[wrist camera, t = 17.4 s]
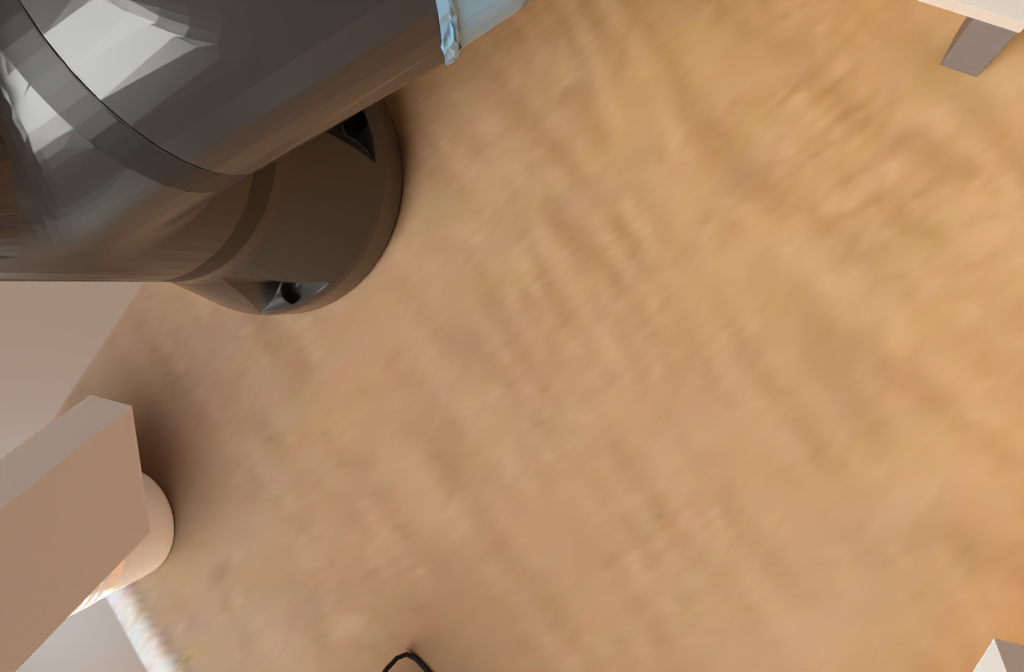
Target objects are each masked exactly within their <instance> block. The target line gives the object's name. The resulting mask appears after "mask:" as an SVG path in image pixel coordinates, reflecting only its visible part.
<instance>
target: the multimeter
mask: <svg viewBox="0 0 1024 672" xmlns="http://www.w3.org/2000/svg"><path fill="white" fill-rule="evenodd" d="M404 657H408V658H410V659H412V660H414V661H415V662H416V663H417V664H418V665H419V666H420V667H421V668H422V669H423V670H424V671H425V672H431V671H430V670H429V669H428V668H427V666H426V665H425V664H424V663H423V662H422V661H421V660H420V659H419V658H418V657H417V656H415V655H413V654H410V653H408V652H406V653H403V654H400V655H398V656H396V657H395V658H394V659H393V660H392V661H391V662H390V663H389V664H388V665H387V666H386V667H385V668H384V670H383V671H382V672H388V671H389V669H390V668H391V667H392V666H393V665H394V664H395V663H396V662H397V661H398V660H399V659H402V658H404Z"/></svg>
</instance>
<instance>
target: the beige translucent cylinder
mask: <svg viewBox="0 0 1024 672" xmlns="http://www.w3.org/2000/svg"><path fill="white" fill-rule="evenodd" d="M142 478H143V485H144V491H145V498H146V505H147V512H148V519H149V525H150V533H149V534H148V535H147V536H146V537H145V538H144V539H143V540H142V541H141V542H140V543H139V544H138V545H137V547H136V548H135V549H134V550H133V551H132V552H131V553H130V554H129V555H128V556H127V557H126V558H125V559H124V560H123V561H122V562H121V563H120V564H119V565H118V566H117V567H116V568H115V569H114V570H113V571H112V572H111V573H110V574H109V575H108V576H107V577H106V578H105V579H104V581H103V582H102V583H101V584H100V585H99V586H98V587H97V588H96V589H95V590H94V591H93V592H92V593H91V594H90V595H89V596H88V597H87V598H86V599H85V600H84V601H83V602H82V603H81V604H80V605H79V606H78V607H77V608H76V609H75V610H74V611H73V612H72V613H71V615H73V614H75V613H77V612H79V611H81V610H83V609H85V608H87V607H89V606H91V605H92V604H94V603H96V602H97V601H99V600H100V599H102V598H104V597H106V596H108V595H110V594H112V593H114V592H115V591H117V590H119V589H121V588H123V587H125V586H127V585H129V584H131V583H133V582H134V581H136V580H138V579H140V578H142V577H144V576H146V575H148V574H150V573H152V572H153V571H155V570H156V569H157V568H159V567H160V566H161V565H162V564H163V563H164V561H165V560H166V558H167V557H168V555H169V553H170V550H171V547H172V544H173V538H174V520H173V514H172V510H171V507H170V504H169V502H168V500H167V498H166V496H165V494H164V492H163V491H162V489H161V488H160V487H159V485H158V484H157V483H156V482H155V481H154V480H153V479H152V478H150V477H149V476H148V475H146V474H144V473H142ZM71 615H70V616H71Z"/></svg>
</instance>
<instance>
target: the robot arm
mask: <svg viewBox="0 0 1024 672" xmlns="http://www.w3.org/2000/svg"><path fill="white" fill-rule="evenodd" d="M529 1H530V0H0V281H128V282H129V281H131V282H133V281H136V282H139V281H140V282H172V283H174V284H176V285H178V286H180V287H182V288H185V289H187V290H189V291H191V292H193V293H195V294H198V295H200V296H202V297H204V298H206V299H208V300H211V301H213V302H215V303H217V304H219V305H222V306H224V307H226V308H229V309H232V310H235V311H240V312H244V313H249V314H257V315H279V314H297V313H304V312H308V311H312V310H315V309H318V308H321V307H323V306H326V305H328V304H330V303H332V302H334V301H336V300H337V299H339V298H341V297H342V296H344V295H345V294H346V293H348V292H349V291H350V290H352V289H353V288H354V287H355V286H356V285H357V284H358V283H359V282H360V281H361V280H362V279H363V278H364V277H365V276H366V275H367V274H368V273H369V271H370V270H371V269H372V267H373V266H374V265H375V263H376V262H377V260H378V259H379V257H380V256H381V254H382V252H383V250H384V248H385V246H386V245H387V242H388V240H389V238H390V236H391V233H392V230H393V227H394V225H395V221H396V218H397V214H398V209H399V205H400V198H401V189H402V162H401V153H400V147H399V142H398V138H397V134H396V131H395V128H394V125H393V122H392V119H391V117H390V114H389V112H388V110H387V108H386V106H385V104H384V102H383V101H382V98H384V97H386V96H387V95H389V94H391V93H392V92H394V91H396V90H397V89H399V88H401V87H403V86H404V85H406V84H408V83H409V82H411V81H413V80H414V79H416V78H418V77H420V76H421V75H423V74H425V73H426V72H428V71H430V70H432V69H433V68H435V67H437V66H438V65H440V64H442V63H443V62H444V63H445V64H446V65H447V66H448V65H449V64H451V63H453V62H454V61H455V59H456V58H458V57H459V55H460V52H461V49H462V48H464V47H465V46H467V45H468V44H470V43H471V42H473V41H474V40H476V39H477V38H479V37H480V36H482V35H483V34H485V33H486V32H488V31H489V30H491V29H492V28H494V27H495V26H497V25H498V24H500V23H501V22H503V21H504V20H506V19H507V18H509V17H510V16H512V15H513V14H515V13H516V12H518V11H519V10H521V9H522V8H523V7H524V6H525V5H526V4H527V3H528V2H529ZM149 533H150V525H149V519H148V512H147V505H146V498H145V491H144V485H143V478H142V471H141V464H140V457H139V451H138V444H137V437H136V430H135V423H134V417H133V410H132V406H131V405H127V404H123V403H119V402H116V401H112V400H108V399H105V398H101V397H97V396H94V395H89V396H88V397H86V398H85V399H84V400H82V401H81V402H79V403H78V404H77V405H75V406H74V407H73V408H71V409H70V410H68V411H67V412H66V413H64V414H63V415H61V416H60V417H59V418H57V419H56V420H54V421H53V422H52V423H50V424H49V425H47V426H46V427H45V428H43V429H42V430H41V431H39V432H38V433H36V434H35V435H34V436H32V437H31V438H29V439H28V440H27V441H25V442H24V443H23V444H21V445H20V446H18V447H17V448H15V449H14V450H13V451H11V452H10V453H9V454H7V455H6V456H4V457H3V458H2V459H0V672H15V671H16V670H17V669H18V668H19V667H20V666H21V665H22V664H23V663H24V662H25V661H26V660H27V659H28V658H29V657H30V656H31V655H32V654H33V653H34V652H35V650H36V649H37V648H38V647H39V646H40V645H41V644H42V643H43V642H44V641H45V640H46V639H47V638H48V637H49V636H50V635H51V634H52V633H53V632H54V631H55V630H56V629H57V628H58V627H59V626H60V625H61V624H62V623H63V622H64V621H65V620H66V618H68V617H69V616H70V615H71V613H72V612H73V611H74V610H75V609H76V608H77V607H78V606H79V605H80V604H81V603H82V602H83V601H84V600H85V599H86V598H87V597H88V596H89V595H90V594H91V593H92V592H93V591H94V590H95V589H96V588H97V587H98V586H99V585H100V584H101V583H102V582H103V581H104V579H105V578H106V577H107V576H108V575H109V574H110V573H111V572H112V571H113V570H114V569H115V568H116V567H117V566H118V565H119V564H120V563H121V562H122V561H123V560H124V559H125V558H126V557H127V556H128V555H129V554H130V553H131V552H132V551H133V550H134V549H135V548H136V547H137V545H138V544H139V543H140V542H141V541H142V540H143V539H144V538H145V537H146V536H147V535H148V534H149ZM973 672H1024V646H1021V645H1018V644H1014V643H1010V642H1006V641H1003V640H999V639H995V638H994V639H993V641H992V642H991V644H990V645H989V647H988V649H987V650H986V652H985V653H984V655H983V656H982V658H981V660H980V661H979V663H978V664H977V666H976V667H975V669H974V671H973Z"/></svg>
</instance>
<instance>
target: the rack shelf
mask: <svg viewBox="0 0 1024 672" xmlns="http://www.w3.org/2000/svg"><path fill="white" fill-rule="evenodd" d="M918 1H921V2H924V3H927V4H930V5H933V6H936V7H940V8H943V9H946V10H949V11H952V12H955V13H958V14H961V15H964V16H968V17H967V18H966V20H965V21H964V23H963V24H962V26H961V27H960V28H959V30H958V32H957V33H956V35H955V37H954V39H953V41H952V43H951V45H950V47H949V49H948V51H947V53H946V54H945V56H944V58H943V60H942V62H941V64H940V65H943V66H946V67H949V68H952V69H955V70H958V71H961V72H964V73H967V74H969V75H972V76H975V77H976V76H977V75H978V74H979V73H980V72H981V71H982V70H983V69H984V68H985V67H986V66H987V65H988V64H989V62H990V61H991V60H992V59H993V58H994V57H995V56H996V55H997V54H998V53H999V52H1000V51H1001V50H1002V49H1003V47H1004V46H1005V45H1006V44H1007V43H1008V42H1009V41H1010V40H1011V39H1012V38H1013V37H1014V36H1015V35H1016V34H1017V33H1020V32H1021V31H1022V30H1023V29H1024V0H918Z"/></svg>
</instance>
